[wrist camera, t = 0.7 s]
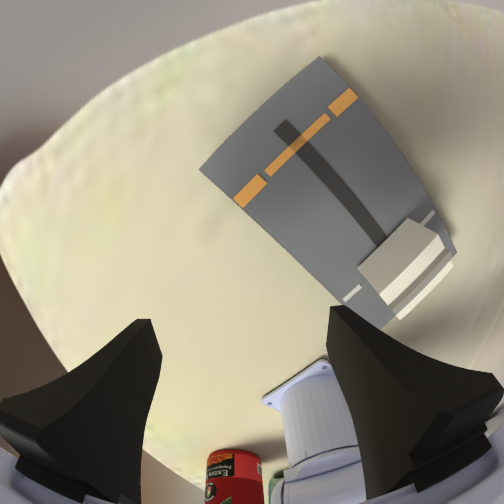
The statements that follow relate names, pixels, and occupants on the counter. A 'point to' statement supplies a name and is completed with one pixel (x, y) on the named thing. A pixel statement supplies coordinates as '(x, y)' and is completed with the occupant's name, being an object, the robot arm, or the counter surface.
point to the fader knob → (407, 266)
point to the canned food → (234, 478)
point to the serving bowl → (494, 424)
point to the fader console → (324, 183)
